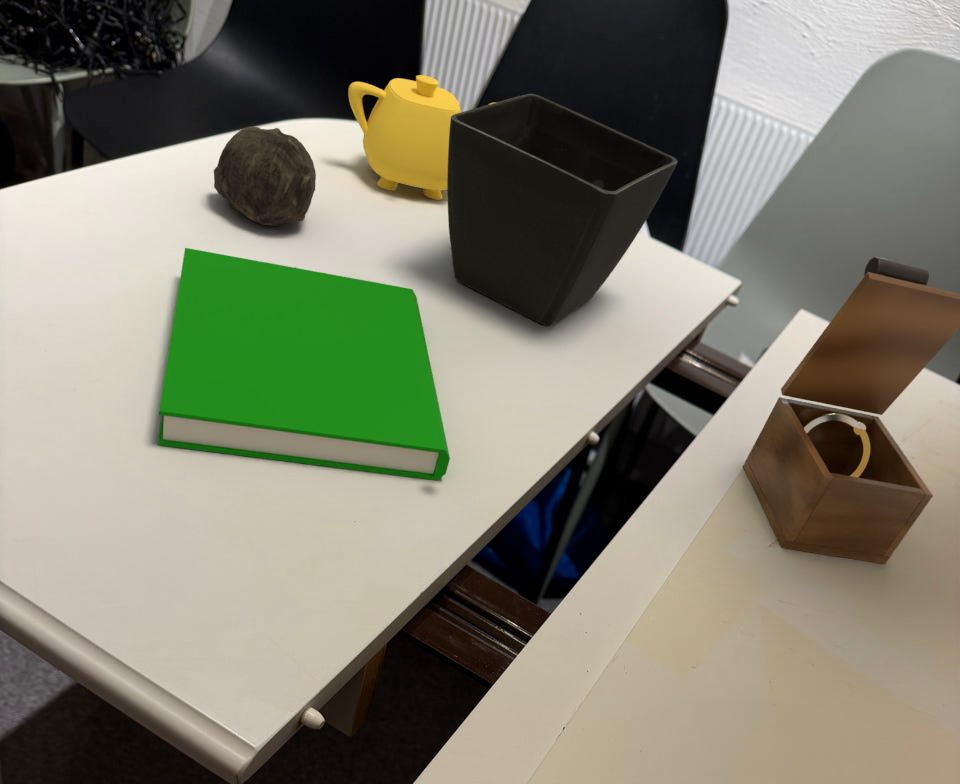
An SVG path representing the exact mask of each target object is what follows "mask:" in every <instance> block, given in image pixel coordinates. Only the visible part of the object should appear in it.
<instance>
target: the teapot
mask: <svg viewBox="0 0 960 784" xmlns="http://www.w3.org/2000/svg"><path fill="white" fill-rule="evenodd" d="M439 85H440V82H439V81H438V80H437V79H435V78H434V77H431V76H428V75H425V74H419V75H416V76H415V80H413V79H412V80H411V79H406V78H400V77H395V78H392V79H391V80H390V81H389V82H388V84H387V85H386V86H385V88H384V89H382V88H379V87H377V86H375V85H372V84H369V83H367V82H363V81H353V82H352V83H350V84H349V86H348V93H347V94H348V101H349V105H350V109H351V110H352V112H353V115H354V118H355V119H356V122H357V123H358V125H359V127H360V129H361V131H362V133H363V136H362V137H363V138H362V147H363V151H364V154H365V157H366V160H367V162H368V165H369V166H370V167H371V169H372V170H373V172H375V173H376V174H377V175H378V176H380V178H379V179H378V181H377V183H376V185H377V186H378V187H379V188H381V189H384V190H387V191H396V190H397V188H398V185H399V184H402V185H406V186H409V187H415V188H420V189H423V195H424V196H425V197H427V198H429V199H432V200H435V201H436V200H437V201H438V200H439V201H440V200H443V195H442V191H447V175H448V148H449V132H450V121H451V116H452V115H454V114H458V113H461V112H462V109H461V106H460V103H459V101H458V99H457V98H456V97H455V95H454V94H452V93H451V91H448V90H446V89H445V88H442V87H440V86H439ZM365 95H370V96H374V97H376V98H378V99H377V101H376V103H375V105H374V106H373V108H372V110H371V112H370V114H369V117H368V119H366V116H365V111H364V106H363V97H364V96H365ZM497 102H498V101H497ZM497 102H491V103H490V104H493V103H497Z"/></svg>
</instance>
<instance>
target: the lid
mask: <svg viewBox="0 0 960 784" xmlns="http://www.w3.org/2000/svg"><path fill="white" fill-rule="evenodd" d="M863 272H864V273H863V278H862V279H861V280H860V282H859V283H858V284H857V285H856V286H855V288H854V289H853V291H852V292H851V294H850V295H849V297H847V299H846V300H845V302H844V303H843V304H842V306H841V307H840V308H839V310H838V311H837V312H836V314H835V315H834V317H833V318H832V319H831V321H830V322H829V323H828V325H826V327H825V329H824V330H823V331H822V332H821V334H820V335H819V337H818V338H817V340H815V342H814V343H813V345H812V346H811V347H810V349H809V350H808V352H807V353H806V354H805V356H804V357H803V358H802V360H801V361H800V362H799V364H798V365H797V366H796V368H795V369H794V371H792V373H791V374H790V376H789V378H787V380H786V381H785V383H784V384H783V385H782V387H781V388H780V393H781V396H783V397H789V398H794V399H799V400H805V401H808V402H814V403H819V404H825V405H829V406H835V407H840V408H845V409H848V410H849V409H850V410H855V411H859V412H863V413H869V414H875V415H879V416H883V415H884V413H886V411H887V410H888V408H890V406H892V405H893V403H894V402H895V401H896V400H897V399H898V398H899V396H901V394H902V393H903V392H904V391H905V390H906V389H907V388H908V387H909V386H910V384H911V383H912V382H913V380H915V379H916V378H917V376H918V375H920V373H921V372H922V371H923V370H924V369H925V368H926V366H927V365H928V364H929V363H930V362H931V361H932V360H933V359H934V358H935V356H936V355H938V353H939V352H940V351H941V350H942V349H943V347H944V346H945V345H946V344H947V343H948V342H949V341H950V340H951V339H952V337H953V336H955V334H956V333H957V332H958V331H959V330H960V293H958V292H954V291H950V290H945V289H941V288H937V287H932V286H928V283H929V279H930V273H929V270H928V269H927V268H924V267H919V266H917V265H916V266H915V265H911V264H908V263H903V262H899V261H895V260H891V259H886V258H883V257H879V256H873V257H872V258H870V259H869V260H868V262H867V264H866V266H865V268H864V271H863Z"/></svg>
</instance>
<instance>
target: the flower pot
mask: <svg viewBox="0 0 960 784" xmlns="http://www.w3.org/2000/svg"><path fill="white" fill-rule="evenodd" d="M492 103H493V104H491V103H488V104H485V105H483V106H479V107H477V108H472V109H469V110H468V109H467V110H464V111H461V113H458V114H454V115H452V116H451V121H450V132H449V148H448V175H447V190H446V191H447V192H446V193H447V195H446V196H447V219H448V220H447V221H448V232H449V233H448V234H449V244H450V252H451V262H452V268H453V275H454V278H455V279H456V280H457V282H460V283H461V284H464V285H466V286H467V287H469V288H471V289H473V290H475V291H477V292H478V293H481V294H483V295H484V296H486V297H488V298H490V299H492V300H494V301H496V302H498V303H500V304H502V305H504V306H505V307H507V308H510V309H511V310H514V311H515V312H517V313H519V314H521V315H523V316H524V317H527V318H529V319H531V320H533V321H535V322H537V323H539V324H540V325H545V326H551V325H554V324H555V323H557V322H558V321H559V320H561V319H562V318H564V317H565V316H567V315H568V314H570V313H572V312H573V311H575V310H576V309H577V308H579V307H580V306H582V305H583V304H585V303H586V302H589V301H590V300H591V299H593V297H594V296H595V295H596V294H597V293H598V291H599V290H600V289H601V287H602V286H603V285H604V284H605V282H606V281H607V279H608V278H609V277H610V275H611V274H612V272H613V271H614V270H615V268H616V267H617V265H618V264H619V263H620V261H621V260H622V258H623V257H624V256H625V254H626V253H627V251H628V250H629V248H630V247H631V245H632V243H634V240H635V239H636V237H637V236H638V234H639V232H640V231H641V229H642V227H643V226H644V224H645V223H646V221H647V219H648V218H649V216H650V214H651V212H652V211H653V209H654V208H655V206H656V204H657V202H658V200H659V199H660V197H661V195H662V193H663V191H664V190H665V187H666V186H667V184H668V182H669V180H670V178H671V176H672V174H673V173H674V170H675V168H676V166H677V164H678V160H677V158H675V157H674V156H673V155H670V154H668V153H665V152H664V151H662V150H660V149H657V148H655V147H653V146H651V145H648V144H646V143H644V142H642V141H640V140H638V139H635V138H633V137H632V136H629V135H627V134H625V133H623V132H621V131H618V130H616V129H614V128H611V127H610V126H607V125H605V124H603V123H601V122H598V121H596V120H594V119H592V118H590V117H587V116H585V115H583V114H581V113H578V112H577V111H574V110H572V109H570V108H567V107H566V106H563V105H561V104H558V103H557V102H554V101H552V100H550V99H548V98H545V97H543V96H542V95H541V96H540V95H538V94H534V93H527V94H522V95H518V96H514V97H511V98H508V99H504V100H501V101H497V103H495V102H492Z"/></svg>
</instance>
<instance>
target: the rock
mask: <svg viewBox="0 0 960 784" xmlns="http://www.w3.org/2000/svg"><path fill="white" fill-rule="evenodd" d="M315 168H316V167H315V164H314V160H313V159H312V157H311V154H310V153H309V151H308V150H307V149H306V147H305V146H304V145H303V143H302V142H301V141H299V139H298V138H296V137H295V136H293V135H291V134H286V133H283V132H282V131H281V129H280V128H278V127H274V128H271V129H265V128H260V127H258V126H254V125H253V126H248V127H244V128H242V129H240V130H239V131H238V132H236V133H235V134H234V135H233V136H232V137H231V138H230V139H229V140H228V141H227V142H226V144H225V146H224V148H223V149H222V151H221V153H220V156H219V159H218V162H217V166H216V167H214V169H213V179H214V180H213V182H214V183H213V188H214V189H215V190H216V192H217V193H218V194H219V195H220V196H221V197H222V198H223V199H224V200H226V202H227V203H228V205H230V206H231V207H232V208H233V209H234V210H236V211H238V212H240V213H241V214H242V215H244V216H245V217H247V218H248V219H249V220H251V221H253V222H255V223H257V224H260V225H263V226H273V227H279V226H282V225H283V224H286V223H293V222H303V221H304V220H305V219H306V214H307V213H308V211H309V209H310V207H311V204H312V200H313V197H314V193H315V191H316V179H317V173H316V169H315Z"/></svg>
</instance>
